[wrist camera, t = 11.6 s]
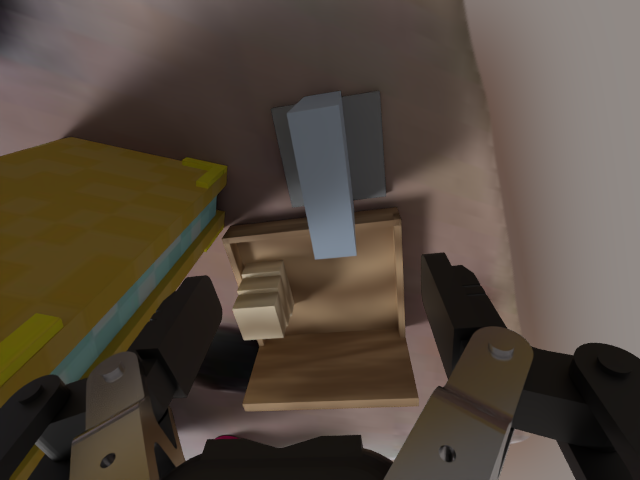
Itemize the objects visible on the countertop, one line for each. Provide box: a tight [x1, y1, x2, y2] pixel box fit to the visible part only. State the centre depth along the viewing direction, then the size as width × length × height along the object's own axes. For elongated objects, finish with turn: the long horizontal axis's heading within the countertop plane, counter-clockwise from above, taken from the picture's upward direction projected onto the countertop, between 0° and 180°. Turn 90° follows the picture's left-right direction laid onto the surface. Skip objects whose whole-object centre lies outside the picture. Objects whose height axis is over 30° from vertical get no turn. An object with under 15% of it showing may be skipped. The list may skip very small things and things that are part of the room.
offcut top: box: [232, 292, 287, 340], centre depth 31 cm, size 4×4×2 cm
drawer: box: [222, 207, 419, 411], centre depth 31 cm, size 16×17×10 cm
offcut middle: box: [237, 275, 291, 326], centre depth 32 cm, size 5×4×2 cm
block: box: [287, 91, 357, 260], centre depth 24 cm, size 10×3×9 cm, turn 9°
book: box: [0, 137, 227, 480], centre depth 20 cm, size 17×7×25 cm, turn 78°
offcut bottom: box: [241, 260, 294, 316], centre depth 34 cm, size 6×4×2 cm, turn 9°
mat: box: [271, 91, 386, 207], centre depth 28 cm, size 9×9×1 cm
